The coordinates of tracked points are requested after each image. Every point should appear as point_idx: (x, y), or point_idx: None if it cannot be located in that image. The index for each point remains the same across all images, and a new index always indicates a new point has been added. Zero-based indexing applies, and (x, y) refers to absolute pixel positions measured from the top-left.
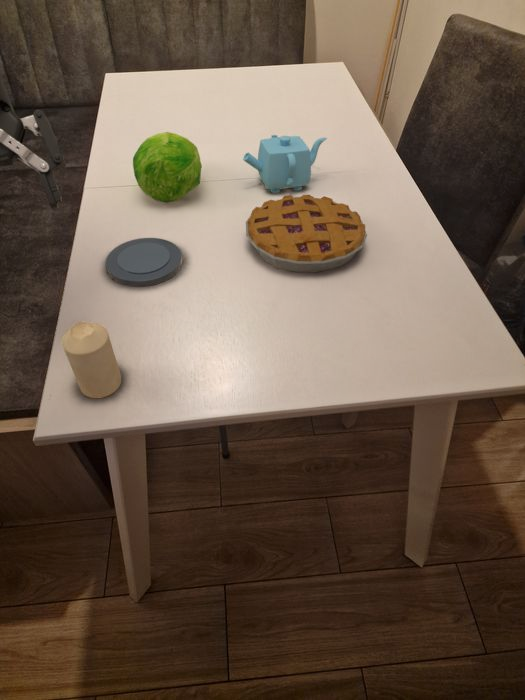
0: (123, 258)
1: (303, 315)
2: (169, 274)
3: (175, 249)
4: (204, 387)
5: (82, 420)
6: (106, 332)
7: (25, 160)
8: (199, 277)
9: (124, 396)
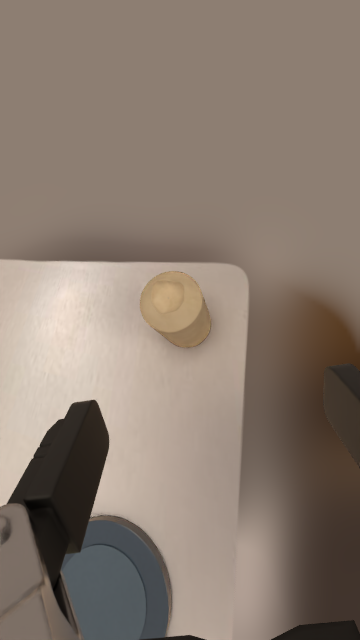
0: (134, 613)
1: None
2: None
3: None
4: (82, 297)
5: (207, 276)
6: (140, 303)
7: (47, 590)
8: None
9: None
